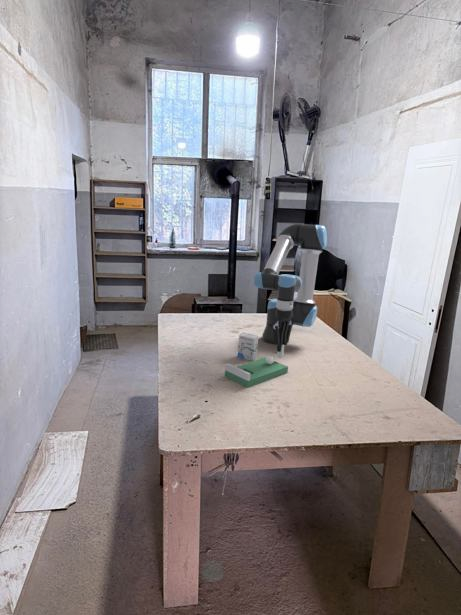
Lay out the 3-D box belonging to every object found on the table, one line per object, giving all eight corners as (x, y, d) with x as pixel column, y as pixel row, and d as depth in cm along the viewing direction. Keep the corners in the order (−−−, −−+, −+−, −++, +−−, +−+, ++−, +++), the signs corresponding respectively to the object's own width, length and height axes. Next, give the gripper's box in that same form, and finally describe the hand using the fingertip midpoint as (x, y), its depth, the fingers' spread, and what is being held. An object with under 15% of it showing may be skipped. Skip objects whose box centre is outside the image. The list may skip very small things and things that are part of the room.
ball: (263, 363, 194) (263, 355, 193) (268, 361, 196) (269, 353, 195) (269, 366, 191) (270, 358, 190) (275, 364, 193) (276, 356, 192)
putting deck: (224, 376, 185) (225, 363, 183) (264, 363, 202) (265, 351, 201) (247, 387, 175) (248, 374, 174) (287, 372, 193) (288, 360, 191)
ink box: (236, 357, 208) (238, 334, 205) (241, 354, 212) (242, 332, 209) (252, 361, 204) (254, 338, 201) (257, 358, 208) (258, 335, 205)
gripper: (281, 312, 185) (277, 363, 191) (299, 308, 194) (295, 357, 200) (268, 308, 190) (264, 358, 196) (287, 305, 199) (282, 352, 205)
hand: (280, 357), depth 198 cm, fingers closed
